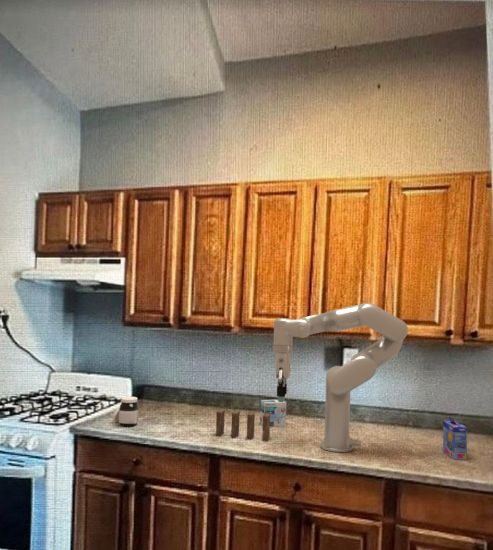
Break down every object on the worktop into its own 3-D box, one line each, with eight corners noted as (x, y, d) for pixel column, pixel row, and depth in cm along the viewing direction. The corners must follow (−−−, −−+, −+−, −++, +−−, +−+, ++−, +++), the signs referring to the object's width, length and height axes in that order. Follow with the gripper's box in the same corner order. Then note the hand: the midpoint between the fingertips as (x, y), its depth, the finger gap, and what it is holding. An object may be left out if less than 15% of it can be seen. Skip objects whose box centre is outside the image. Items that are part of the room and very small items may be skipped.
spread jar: (134, 428, 221) (135, 400, 221) (108, 427, 221) (109, 399, 221) (140, 421, 233) (141, 395, 233) (115, 420, 233) (116, 394, 233)
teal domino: (284, 399, 208) (285, 374, 208) (283, 402, 203) (283, 376, 203) (279, 399, 208) (280, 374, 208) (278, 401, 203) (278, 376, 204)
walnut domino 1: (223, 433, 217) (224, 409, 217) (220, 436, 212) (221, 412, 212) (219, 433, 217) (220, 409, 218) (215, 436, 212) (216, 411, 213)
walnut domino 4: (269, 438, 212) (270, 413, 213) (267, 441, 208) (267, 416, 208) (264, 437, 213) (265, 413, 213) (262, 440, 208) (263, 415, 208)
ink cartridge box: (441, 451, 201) (442, 414, 202) (455, 451, 202) (456, 414, 202) (452, 459, 192) (453, 420, 192) (467, 460, 192) (468, 420, 192)
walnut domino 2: (238, 435, 215) (239, 410, 216) (235, 438, 211) (236, 413, 211) (234, 434, 216) (235, 410, 216) (231, 437, 211) (231, 413, 211)
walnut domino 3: (254, 436, 214) (254, 412, 214) (251, 439, 209) (252, 414, 209) (249, 436, 214) (250, 411, 215) (246, 439, 209) (247, 414, 210)
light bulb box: (263, 427, 229) (264, 402, 230) (259, 423, 236) (260, 399, 236) (286, 426, 232) (287, 402, 232) (281, 422, 239) (282, 399, 239)
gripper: (290, 352, 197) (288, 400, 197) (294, 347, 214) (293, 391, 213) (270, 351, 199) (269, 398, 198) (276, 346, 215) (275, 390, 215)
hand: (281, 394), depth 206 cm, fingers closed on teal domino, 4 cm apart
